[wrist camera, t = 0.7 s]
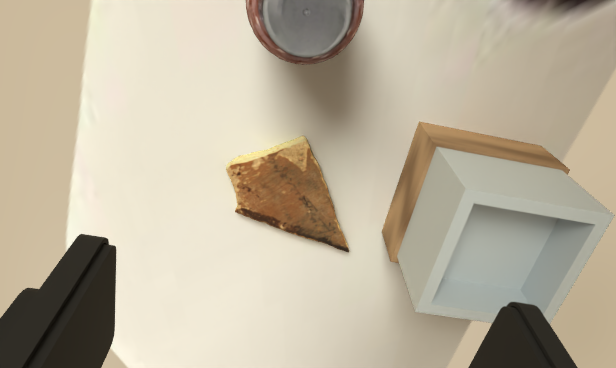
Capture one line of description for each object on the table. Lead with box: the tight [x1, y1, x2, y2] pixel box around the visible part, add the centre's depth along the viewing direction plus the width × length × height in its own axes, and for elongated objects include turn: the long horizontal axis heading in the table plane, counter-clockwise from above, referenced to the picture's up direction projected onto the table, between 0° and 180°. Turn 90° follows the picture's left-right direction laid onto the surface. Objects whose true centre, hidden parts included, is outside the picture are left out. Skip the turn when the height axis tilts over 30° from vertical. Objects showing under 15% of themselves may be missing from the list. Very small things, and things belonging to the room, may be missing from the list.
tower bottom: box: [382, 122, 570, 263], centre depth 36 cm, size 10×10×4 cm
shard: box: [226, 136, 349, 252], centre depth 38 cm, size 11×8×2 cm
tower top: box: [397, 147, 614, 324], centre depth 31 cm, size 9×9×6 cm
